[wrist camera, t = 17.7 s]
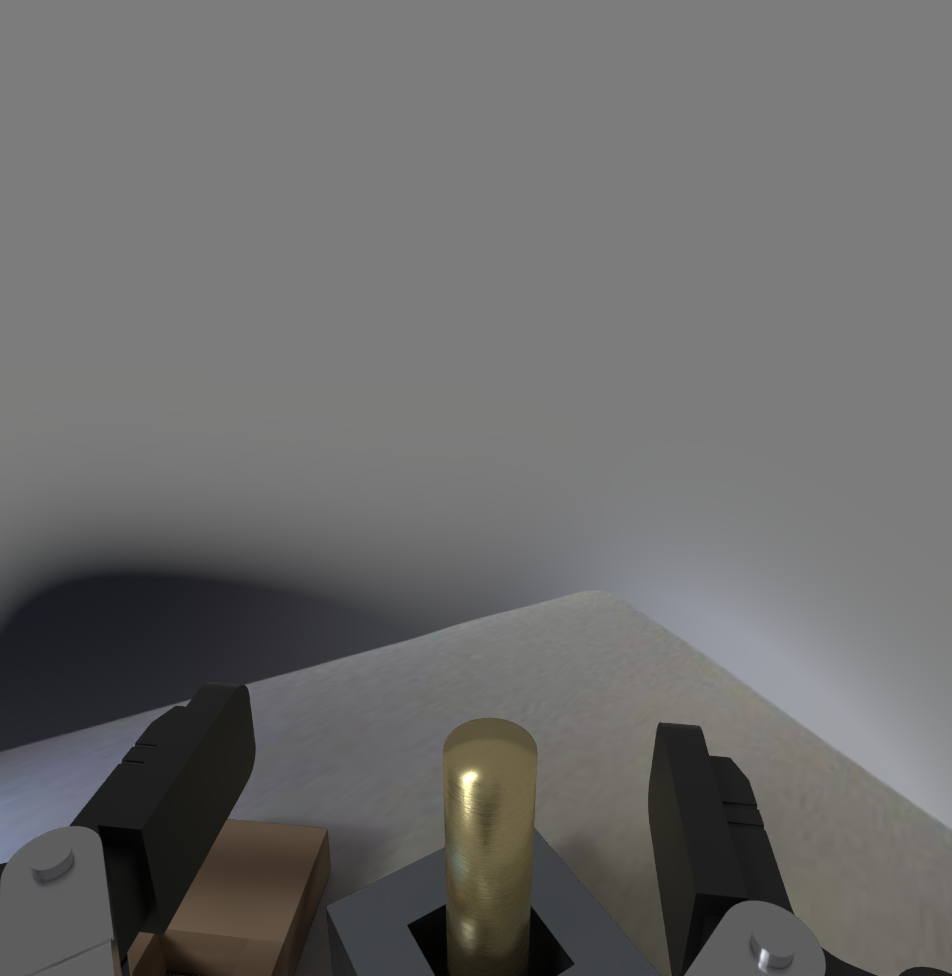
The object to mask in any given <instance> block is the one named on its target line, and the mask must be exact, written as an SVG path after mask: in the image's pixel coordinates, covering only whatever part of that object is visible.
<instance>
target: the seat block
mask: <svg viewBox="0 0 952 976" xmlns="http://www.w3.org/2000/svg"><path fill="white" fill-rule="evenodd" d="M326 911H327V921H328V931H329V941H330V951H331V962H332V972H333V976H447V928H446V872H445V848H443V849H441V850H439V851H437V852H435V853H433V854H430V855H428V856H426V857H424V858H422V859H420V860H418V861H416V862H414V863H412V864H410V865H408V866H406V867H404V868H402V869H400V870H398V871H396V872H394V873H392V874H390V875H388V876H386V877H384V878H382V879H380V880H378V881H376V882H374V883H372V884H370V885H368V886H366V887H364V888H362V889H360V890H358V891H356V892H354V893H352V894H350V895H348V896H346V897H344V898H342V899H340V900H338V901H336V902H334V903H332V904H330V905H328V906H326ZM528 976H661V975H660V974H659V973H658V972H657V971H656V969H655V968H654V967H653V966H652V965H651V964H650V962H649V961H648V960H647V959H646V958H645V956H644V955H643V954H642V953H641V952H640V951H639V949H638V948H637V947H636V946H635V945H634V944H633V942H632V941H631V940H630V939H629V938H628V937H627V935H626V934H625V933H624V932H623V931H622V930H621V928H620V927H619V926H618V925H617V924H616V923H615V921H614V920H613V919H612V918H611V917H610V916H609V914H608V913H607V912H606V911H605V910H604V909H603V907H602V906H601V905H600V904H599V903H598V902H597V900H596V899H595V898H594V897H593V896H592V895H591V893H590V892H589V891H588V890H587V889H586V887H585V886H584V885H583V884H582V883H581V882H580V880H579V879H578V878H577V877H576V876H575V875H574V873H573V872H572V871H571V870H570V869H569V868H568V866H567V865H566V864H565V863H564V862H563V861H562V859H561V858H560V857H559V856H558V855H557V854H556V852H555V851H554V850H553V849H552V848H551V847H550V845H549V844H548V843H547V842H546V841H545V840H544V838H543V837H542V836H541V835H540V834H539V833H538V831H537V830H536V829H535V828H534V841H533V863H532V886H531V909H530V932H529V955H528Z"/></svg>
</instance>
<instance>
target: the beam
mask: <svg viewBox="0 0 952 976" xmlns="http://www.w3.org/2000/svg"><path fill="white" fill-rule="evenodd" d="M330 870H331V863H330V852H329V841H328V830H327V828H316V827H306V826H296V825H285V824H275V823H265V822H254V821H244V820H234V819H227V820H226V822H225V824H224V826H223V827H222V829H221V831H220V833H219V835H218V837H217V838H216V840H215V842H214V844H213V846H212V848H211V849H210V851H209V853H208V855H207V857H206V859H205V860H204V862H203V864H202V866H201V868H200V869H199V871H198V873H197V875H196V877H195V879H194V880H193V882H192V884H191V886H190V888H189V890H188V891H187V893H186V895H185V897H184V899H183V901H182V902H181V904H180V906H179V908H178V910H177V912H176V913H175V915H174V917H173V919H172V921H171V923H170V924H169V926H168V928H167V930H166V932H165V934H164V935H160V934H152V933H143V932H139V933H138V935H137V937H136V939H135V940H134V942H133V944H132V946H131V947H130V949H129V951H128V953H129V958H130V963H131V970H132V976H165V974H166V972H167V971H173V972H181V973H189V974H198V975H206V976H293V974H294V971H295V968H296V965H297V963H298V960H299V957H300V954H301V951H302V949H303V946H304V943H305V940H306V937H307V934H308V932H309V929H310V926H311V923H312V920H313V917H314V915H315V912H316V909H317V906H318V903H319V901H320V898H321V895H322V892H323V889H324V886H325V884H326V881H327V878H328V875H329V872H330Z"/></svg>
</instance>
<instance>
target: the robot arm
mask: <svg viewBox="0 0 952 976" xmlns="http://www.w3.org/2000/svg"><path fill="white" fill-rule="evenodd" d="M255 751H256V747H255V738H254V729H253V721H252V713H251V705H250V697H249V691H248V689H247V687H246V686H245V685H240V684H229V683H217V682H206V683H205V684H203V685H202V687H201V688H200V689H199V690H198V692H197V693H196V694H195V696H194V697H193V698H192V700H191V701H190V702H189V704H188V705H187V706H186V707H184V706H175V707H173V708H172V709H170V710H169V711H168V712H166V713H165V714H163V715H162V716H160V717H159V718H158V719H156V720H155V721H153V722H152V723H151V724H150V725H149V727H148V728H147V729H146V730H145V732H144V733H143V734H142V735H141V737H140V738H139V739H138V740H137V742H136V743H135V747H132V748H131V749H130V750H129V752H128V753H127V754H126V755H125V757H124V758H123V759H122V763H121V764H118V765H117V767H116V768H115V769H114V770H113V772H112V773H111V774H110V776H109V777H108V778H107V779H106V781H105V782H104V783H103V784H102V786H101V787H100V788H99V789H98V791H97V792H96V793H95V794H94V796H93V797H92V798H91V799H90V801H89V802H88V803H87V804H86V806H85V807H84V808H83V809H82V811H81V812H80V813H79V814H78V816H77V817H76V818H75V819H74V821H73V822H72V823H71V824H70V826H69V827H63V828H58V829H55V830H52V831H49V832H47V833H44V834H42V835H40V836H38V837H36V838H35V839H33V840H32V841H30V842H28V843H27V844H26V845H24V846H23V847H22V848H21V849H19V850H18V851H17V852H16V853H15V854H14V855H13V857H12V858H11V859H10V860H9V862H7V863H3V864H0V976H132V970H131V963H130V958H129V953H128V951H129V949H130V947H131V946H132V944H133V942H134V940H135V939H136V937H137V935H138V933H139V932H143V933H152V934H160V935H164V934H165V932H166V930H167V928H168V926H169V924H170V923H171V921H172V919H173V917H174V915H175V913H176V912H177V910H178V908H179V906H180V904H181V902H182V901H183V899H184V897H185V895H186V893H187V891H188V890H189V888H190V886H191V884H192V882H193V880H194V879H195V877H196V875H197V873H198V871H199V869H200V868H201V866H202V864H203V862H204V860H205V859H206V857H207V855H208V853H209V851H210V849H211V848H212V846H213V844H214V842H215V840H216V838H217V837H218V835H219V833H220V831H221V829H222V827H223V826H224V824H225V822H226V820H227V818H228V816H229V815H230V813H231V811H232V809H233V807H234V805H235V804H236V802H237V800H238V798H239V796H240V794H241V793H242V791H243V789H244V787H245V785H246V783H247V782H248V780H249V778H250V775H251V772H252V769H253V765H254V760H255ZM648 812H649V823H650V830H651V836H652V843H653V850H654V857H655V864H656V870H657V877H658V884H659V891H660V897H661V904H662V911H663V918H664V925H665V931H666V938H667V945H668V952H669V959H670V965H671V972H672V976H877V975H874V974H872V973H869V972H867V971H864V970H862V969H859V968H857V967H855V966H852V965H850V964H848V963H846V962H844V961H841V960H840V959H838V958H836V957H835V956H833V955H831V954H830V953H829V952H827V951H826V950H824V949H823V948H822V947H821V946H820V943H819V941H818V940H817V938H816V937H815V935H814V934H813V932H812V931H811V930H810V929H809V928H808V927H807V925H806V924H804V923H803V922H802V921H801V920H800V919H799V918H798V917H796V916H795V915H794V913H793V910H792V908H791V905H790V902H789V899H788V896H787V893H786V890H785V887H784V884H783V881H782V878H781V875H780V872H779V869H778V866H777V863H776V860H775V857H774V854H773V851H772V848H771V845H770V842H769V839H768V836H767V833H766V831H765V830H764V824H763V821H762V818H761V815H760V812H759V810H757V803H756V800H755V797H754V794H753V791H752V788H751V785H750V782H749V780H748V778H747V777H746V776H745V775H744V774H743V773H742V771H741V770H740V769H739V768H738V767H737V765H736V764H735V763H734V762H733V761H732V759H731V758H729V757H718V756H709V753H708V750H707V746H706V743H705V739H704V735H703V732H702V729H701V727H700V726H696V725H684V724H673V723H661V722H660V723H659V724H658V727H657V732H656V739H655V746H654V753H653V760H652V767H651V774H650V782H649V792H648ZM899 976H952V974H950V973H947V972H945V971H942V970H939V969H935V968H929V967H914V968H911V969H907V970H905V971H904V972H902V973H901V974H900V975H899Z"/></svg>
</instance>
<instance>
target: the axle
mask: <svg viewBox="0 0 952 976" xmlns="http://www.w3.org/2000/svg"><path fill="white" fill-rule="evenodd" d="M443 761H444V817H445V872H446V928H447V976H528V955H529V932H530V909H531V886H532V863H533V841H534V818H535V795H536V772H537V746H536V743H535V741H534V739H533V738H532V736H531V735H530V734H529V733H528V732H527V731H526V730H525V729H524V728H522V727H521V726H519V725H517V724H515V723H513V722H510V721H507V720H503V719H496V718H482V719H476V720H472V721H469V722H466V723H464V724H462V725H460V726H459V727H457V728H456V729H454V730H453V731H452V732H451V733H450V734H449V736H448V737H447V739H446V741H445V744H444V749H443Z"/></svg>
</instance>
